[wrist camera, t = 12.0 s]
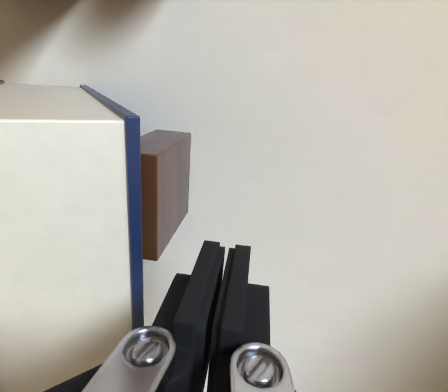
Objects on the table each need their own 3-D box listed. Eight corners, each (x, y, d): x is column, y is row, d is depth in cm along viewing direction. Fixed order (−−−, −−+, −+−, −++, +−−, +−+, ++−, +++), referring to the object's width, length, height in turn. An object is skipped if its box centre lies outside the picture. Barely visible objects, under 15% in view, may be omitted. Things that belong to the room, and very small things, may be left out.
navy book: (140, 116, 9) (-110, 111, 6) (145, 389, 13) (-7, 450, 10) (86, 85, 21) (-6, 79, 18) (97, 229, 25) (23, 239, 22)
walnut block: (191, 133, 21) (157, 155, 15) (187, 212, 23) (157, 261, 17) (156, 129, 21) (107, 149, 15) (156, 207, 23) (114, 255, 17)
